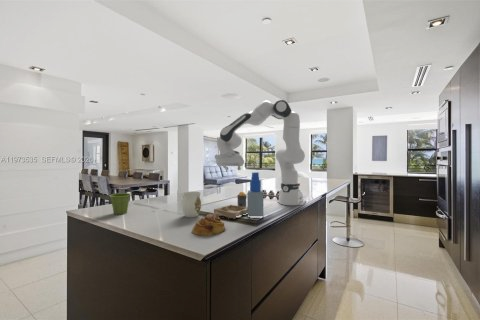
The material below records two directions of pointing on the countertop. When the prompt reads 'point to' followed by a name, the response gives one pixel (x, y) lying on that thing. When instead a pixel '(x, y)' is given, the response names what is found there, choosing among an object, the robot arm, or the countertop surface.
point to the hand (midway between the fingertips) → (233, 169)
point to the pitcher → (191, 204)
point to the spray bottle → (255, 196)
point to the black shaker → (241, 201)
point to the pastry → (209, 225)
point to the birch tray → (231, 210)
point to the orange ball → (241, 194)
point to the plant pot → (120, 202)
